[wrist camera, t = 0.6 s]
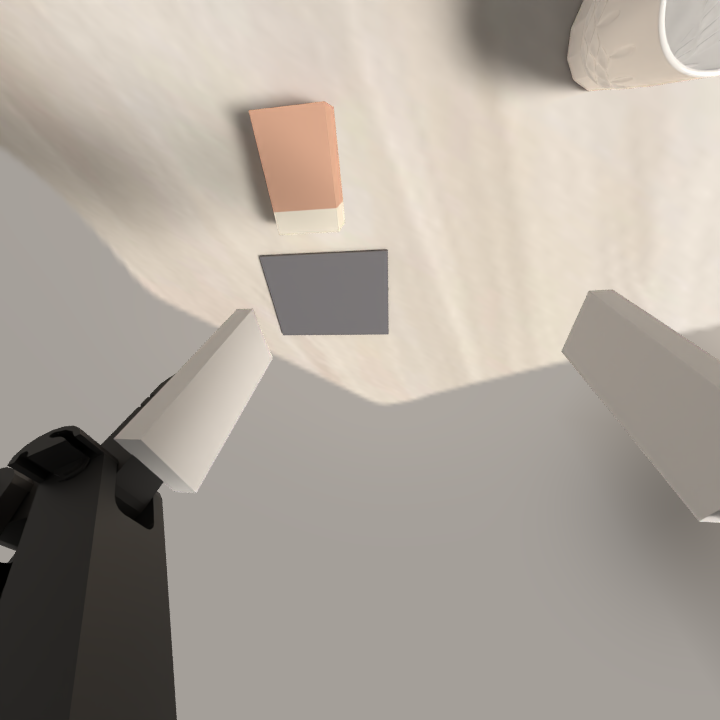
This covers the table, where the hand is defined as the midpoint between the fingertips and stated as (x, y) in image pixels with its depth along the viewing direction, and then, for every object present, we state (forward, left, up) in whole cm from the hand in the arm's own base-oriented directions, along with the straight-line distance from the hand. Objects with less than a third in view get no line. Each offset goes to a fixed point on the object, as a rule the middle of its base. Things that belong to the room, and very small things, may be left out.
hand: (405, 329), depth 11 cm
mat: (+9, -9, -21) cm, 24 cm away
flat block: (-4, -9, -21) cm, 24 cm away
